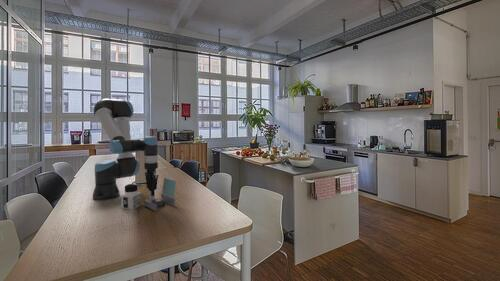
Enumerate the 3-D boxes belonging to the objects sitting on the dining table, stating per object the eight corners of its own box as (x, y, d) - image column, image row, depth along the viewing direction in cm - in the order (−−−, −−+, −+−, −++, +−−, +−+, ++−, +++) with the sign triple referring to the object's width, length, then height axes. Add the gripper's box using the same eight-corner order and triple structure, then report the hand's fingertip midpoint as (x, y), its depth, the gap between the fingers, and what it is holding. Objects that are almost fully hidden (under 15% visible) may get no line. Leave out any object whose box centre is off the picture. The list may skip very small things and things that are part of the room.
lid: (164, 177, 150) (166, 177, 151) (161, 195, 149) (163, 195, 150) (175, 180, 141) (177, 180, 142) (172, 199, 141) (174, 199, 142)
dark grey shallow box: (144, 205, 142) (143, 197, 142) (162, 200, 151) (162, 193, 150) (155, 211, 133) (155, 203, 132) (175, 205, 141) (174, 198, 141)
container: (133, 209, 135) (132, 186, 134) (121, 208, 137) (120, 186, 136) (142, 205, 143) (141, 183, 142) (130, 204, 144) (129, 182, 143)
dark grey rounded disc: (149, 205, 142) (149, 200, 142) (160, 202, 147) (160, 197, 147) (154, 208, 137) (154, 203, 137) (166, 205, 142) (166, 200, 142)
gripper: (140, 161, 147) (141, 199, 149) (150, 164, 138) (151, 204, 140) (152, 160, 153) (152, 196, 155) (162, 162, 144) (163, 201, 146)
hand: (152, 200), depth 147 cm, fingers closed
